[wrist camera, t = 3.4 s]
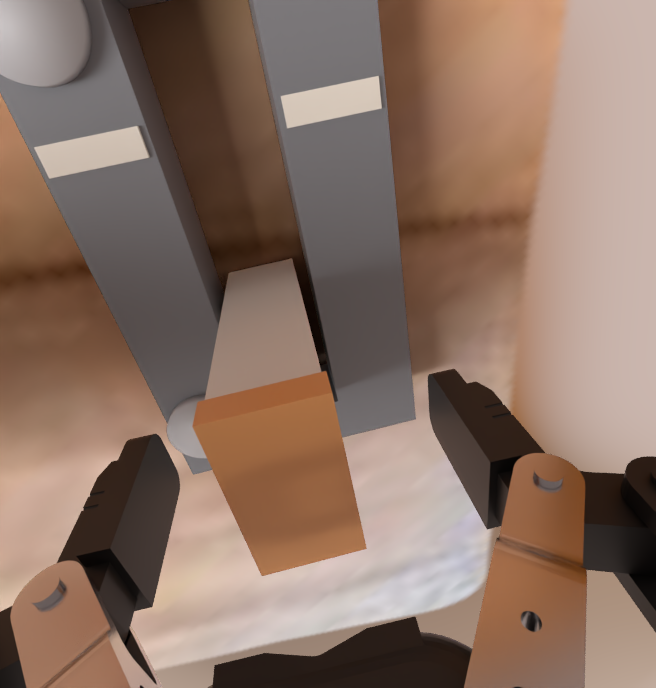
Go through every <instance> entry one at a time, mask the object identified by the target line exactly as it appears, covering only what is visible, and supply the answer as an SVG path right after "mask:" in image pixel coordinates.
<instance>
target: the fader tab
mask: <svg viewBox="0 0 656 688" xmlns="http://www.w3.org/2000/svg"><path fill="white" fill-rule="evenodd" d="M192 427H193V429H194V431H195V433H196V436H197V438H198V440H199V442H200V444H201V446H202V448H203V451H204V453H205V455H206V457H207V459H208V461H209V463H210V466H211V468H212V470H213V472H214V474H215V476H216V479H217V481H218V483H219V485H220V487H221V489H222V491H223V494H224V496H225V498H226V500H227V502H228V504H229V506H230V509H231V511H232V513H233V515H234V517H235V519H236V521H237V524H238V526H239V528H240V530H241V532H242V534H243V536H244V539H245V541H246V543H247V545H248V547H249V549H250V551H251V554H252V556H253V558H254V560H255V562H256V564H257V566H258V569H259V571H260V573H261V575H262V576H264V575H268V574H272V573H276V572H280V571H283V570H287V569H291V568H295V567H299V566H302V565H306V564H310V563H314V562H318V561H321V560H325V559H329V558H333V557H337V556H340V555H344V554H348V553H352V552H356V551H360V550H363V549H367V548H366V544H365V539H364V535H363V530H362V526H361V521H360V517H359V512H358V508H357V503H356V498H355V494H354V489H353V485H352V480H351V476H350V471H349V467H348V462H347V457H346V453H345V448H344V444H343V439H342V435H341V430H340V426H339V421H338V417H337V412H336V407H335V403H334V398H333V394H332V390H331V386H330V383H329V379H328V376H327V372H326V371H323V372H321V368H320V364H319V360H318V356H317V353H316V349H315V345H314V341H313V337H312V333H311V330H310V326H309V322H308V318H307V314H306V310H305V306H304V303H303V299H302V295H301V291H300V287H299V283H298V280H297V276H296V272H295V268H294V264H293V260H292V258H291V259H287V260H283V261H278V262H274V263H269V264H265V265H261V266H256V267H252V268H247V269H243V270H239V271H234V272H230V273H229V274H228V279H227V285H226V290H225V295H224V301H223V306H222V311H221V316H220V322H219V327H218V332H217V337H216V343H215V348H214V353H213V358H212V364H211V369H210V374H209V380H208V385H207V390H206V395H205V400H203V401H199V402H197V407H196V411H195V416H194V421H193V425H192Z"/></svg>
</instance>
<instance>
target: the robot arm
mask: <svg viewBox="0 0 656 688" xmlns="http://www.w3.org/2000/svg"><path fill="white" fill-rule="evenodd" d="M428 393H429V412H430V420H431V424H432V428H433V430H434V433H435V435H436V437H437V439H438V441H439V442H440V444H441V446H442V448H443V450H444V452H445V453H446V455H447V457H448V459H449V461H450V463H451V464H452V466H453V468H454V470H455V472H456V473H457V475H458V477H459V479H460V481H461V483H462V484H463V486H464V488H465V490H466V492H467V494H468V495H469V497H470V499H471V501H472V503H473V505H474V506H475V508H476V510H477V512H478V514H479V515H480V517H481V519H482V521H483V523H484V525H485V526H486V528H487V529H490V528H494V527H498V526H501V530H500V535H499V538H497V539H496V542H495V546H494V550H493V555H492V560H491V564H490V569H489V574H488V578H487V583H486V588H485V593H484V597H483V601H482V607H481V611H480V615H479V621H478V625H477V629H476V634H475V639H474V643H473V648H472V649H471V648H470V647H468V646H466V645H464V644H462V643H460V642H458V641H456V640H453V639H451V638H448V637H445V636H442V635H437V634H432V633H423V632H420V630H419V627H418V624H417V621H416V617H411V618H407V619H403V620H399V621H395V622H391V623H387V624H383V625H379V626H375V627H370V628H366V629H365V630H363V631H362V632H360V633H358V634H356V635H354V636H353V637H351V638H349V639H348V640H346V641H344V642H342V643H341V644H339V645H337V646H335V647H334V648H332V649H330V650H328V651H327V652H325V653H323V654H321V655H319V656H312V657H311V656H298V655H284V654H269V653H263V654H260V655H255V656H251V657H247V658H243V659H239V660H235V661H230V662H226V663H222V664H218V665H215V667H214V668H215V669H214V678H213V685H211V686H209V687H208V688H584V687H585V646H586V643H585V642H586V602H587V599H586V598H587V571H586V570H595V571H605V572H613V573H614V574H615V575H616V577H617V578H618V580H619V581H620V582H621V584H622V585H623V587H624V588H625V590H626V591H627V592H628V594H629V595H630V597H631V598H632V599H633V601H634V602H635V604H636V605H637V607H638V608H639V609H640V611H641V612H642V614H643V615H644V617H645V618H646V619H647V621H648V622H649V624H650V625H651V626H652V628H653V629H654V631H655V632H656V457H640V458H637V459H634V460H632V461H631V462H630V463H629V464H628V465H627V467H626V471H625V474H616V473H592V472H583V471H579V470H578V469H577V468H576V467H575V466H574V465H573V464H571V463H570V462H569V461H567V460H565V459H563V458H561V457H558V456H555V455H552V454H547V453H545V452H544V451H543V450H542V449H541V447H540V446H539V445H538V444H537V443H536V441H535V440H534V439H533V438H532V437H531V436H530V434H529V433H528V432H527V431H526V430H525V429H524V427H523V426H522V425H521V424H520V423H519V421H518V420H517V419H516V418H515V417H514V416H513V415H511V412H510V411H509V410H508V409H507V407H506V406H505V405H503V404H502V402H501V400H500V399H499V398H498V397H497V396H496V395H495V393H494V392H493V391H492V390H490V389H489V388H487V387H485V386H483V385H481V384H480V383H478V382H472V383H468V384H467V383H466V382H465V381H464V380H463V378H462V377H461V376H460V374H459V373H458V372H457V371H456V370H455V369H451V370H446V371H442V372H437V373H433V374H429V376H428ZM179 491H180V481H179V475H178V472H177V470H176V467H175V465H174V463H173V462H172V460H171V458H170V456H169V454H168V452H167V450H166V448H165V446H164V444H163V442H162V440H161V438H160V437H159V435H157V434H152V435H148V436H143V437H139V438H134V439H130V440H128V441H127V442H126V444H125V446H124V448H123V450H122V453H121V455H120V457H119V459H118V460H117V461H113V462H111V463H110V464H109V465H108V467H107V468H106V469H105V470H104V471H103V472H102V473H101V474H100V475H99V477H98V478H97V480H96V482H95V484H94V486H93V488H92V490H91V493H90V497H88V499H87V501H86V503H85V505H84V507H83V508H84V511H81V513H80V516H79V518H78V520H77V522H76V524H75V526H74V528H73V530H72V532H71V534H70V537H69V539H68V541H67V543H66V545H65V547H64V549H63V551H62V553H61V555H60V557H59V560H58V562H57V563H56V564H54V565H52V566H50V567H48V568H46V569H45V570H43V571H42V572H40V573H39V574H38V575H36V576H35V577H34V578H33V579H32V580H31V581H30V582H29V583H28V584H27V585H26V586H25V587H24V588H23V589H22V591H21V592H20V593H19V595H18V596H17V598H16V600H15V602H14V604H13V606H11V607H9V608H7V609H5V610H3V611H1V612H0V688H163V687H162V685H161V683H160V681H159V679H158V677H157V675H156V673H155V671H154V669H153V667H152V665H151V663H150V661H149V659H148V657H147V655H146V653H145V651H144V649H143V648H142V646H141V644H140V642H139V640H138V638H137V636H136V634H135V632H134V630H133V629H132V627H131V626H130V624H131V621H132V617H133V613H134V611H137V610H141V609H145V608H150V607H152V606H153V602H154V598H155V593H156V589H157V585H158V581H159V576H160V572H161V568H162V564H163V559H164V555H165V551H166V547H167V542H168V538H169V534H170V530H171V525H172V521H173V517H174V513H175V508H176V504H177V500H178V496H179Z"/></svg>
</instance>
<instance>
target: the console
mask: <svg viewBox="0 0 656 688" xmlns="http://www.w3.org/2000/svg"><path fill="white" fill-rule="evenodd" d="M166 1H171V0H0V93H1V95H2V97H3V99H4V101H5V103H6V105H7V107H8V109H9V111H10V113H11V115H12V117H13V119H14V121H15V123H16V125H17V127H18V129H19V131H20V133H21V135H22V137H23V139H24V141H25V143H26V145H27V147H28V149H29V151H30V153H31V155H32V157H33V159H34V160H35V162H36V164H37V166H38V168H39V170H40V172H41V174H42V176H43V178H44V180H45V182H46V184H47V186H48V188H49V190H50V192H51V194H52V196H53V198H54V200H55V202H56V204H57V206H58V208H59V210H60V212H61V214H62V216H63V218H64V220H65V222H66V224H67V226H68V228H69V230H70V232H71V234H72V236H73V238H74V240H75V242H76V244H77V246H78V248H79V250H80V252H81V254H82V255H83V257H84V259H85V261H86V263H87V265H88V267H89V269H90V271H91V273H92V275H93V277H94V279H95V281H96V283H97V285H98V287H99V289H100V291H101V293H102V295H103V297H104V299H105V301H106V303H107V305H108V307H109V309H110V311H111V313H112V315H113V317H114V319H115V321H116V323H117V325H118V327H119V329H120V331H121V333H122V335H123V337H124V339H125V341H126V343H127V345H128V347H129V349H130V350H131V352H132V354H133V356H134V358H135V360H136V362H137V364H138V366H139V368H140V370H141V372H142V374H143V376H144V378H145V380H146V382H147V384H148V386H149V388H150V390H151V392H152V394H153V396H154V398H155V400H156V402H157V404H158V406H159V408H160V410H161V412H162V414H163V416H164V418H165V420H166V422H167V424H168V425H167V436H168V439H169V441H170V442H171V444H172V445H173V446H174V447H175V448H176V449H177V450H178V451H180V452H181V453H183V455H184V457H185V459H186V461H187V463H188V465H189V467H190V469H191V471H192V473H193V475H194V474H198V473H202V472H206V471H210V470H212V468H211V466H210V463H209V461H208V459H207V457H206V455H205V453H204V451H203V448H202V446H201V444H200V442H199V440H198V438H197V436H196V433H195V431H194V429H193V427H192V425H193V421H194V416H195V411H196V407H197V402H199V401H203V400H205V395H206V390H207V385H208V380H209V374H210V369H211V364H212V358H213V353H214V348H215V343H216V337H217V332H218V327H219V322H220V316H221V311H222V306H223V301H224V292H223V289H222V286H221V283H220V280H219V277H218V274H217V271H216V268H215V265H214V262H213V259H212V256H211V253H210V250H209V247H208V245H207V242H206V239H205V236H204V233H203V230H202V227H201V224H200V221H199V218H198V215H197V212H196V209H195V206H194V203H193V200H192V197H191V194H190V191H189V188H188V185H187V182H186V179H185V176H184V173H183V171H182V168H181V165H180V162H179V159H178V156H177V153H176V150H175V147H174V144H173V141H172V138H171V135H170V132H169V129H168V126H167V123H166V120H165V117H164V114H163V111H162V108H161V105H160V102H159V100H158V97H157V94H156V91H155V88H154V85H153V82H152V79H151V76H150V73H149V70H148V67H147V64H146V61H145V58H144V55H143V52H142V49H141V46H140V43H139V40H138V37H137V34H136V31H135V29H134V26H133V23H132V20H131V17H130V14H129V11H128V9H129V8H135V7H140V6H145V5H150V4H155V3H160V2H166ZM248 2H249V6H250V11H251V15H252V20H253V25H254V29H255V34H256V38H257V43H258V48H259V52H260V57H261V61H262V66H263V71H264V75H265V80H266V84H267V89H268V94H269V98H270V103H271V107H272V112H273V117H274V121H275V126H276V130H277V135H278V140H279V144H280V149H281V153H282V158H283V162H284V167H285V172H286V176H287V181H288V185H289V190H290V195H291V199H292V204H293V208H294V213H295V218H296V222H297V227H298V231H299V236H300V241H301V245H302V250H303V254H304V259H305V264H306V268H307V273H308V277H309V282H310V287H311V291H312V296H313V300H314V305H315V310H316V314H317V319H318V323H319V328H320V332H321V337H322V342H323V346H324V351H325V355H326V360H327V364H324V365H320V368H321V372H323V371H326V372H327V376H328V379H329V383H330V386H331V390H332V394H333V398H334V403H335V407H336V412H337V417H338V421H339V426H340V430H341V435H342V437H346V436H350V435H354V434H358V433H362V432H366V431H370V430H374V429H378V428H382V427H386V426H390V425H394V424H398V423H402V422H406V421H410V420H414V419H416V416H415V405H414V394H413V383H412V372H411V361H410V350H409V339H408V328H407V317H406V306H405V295H404V284H403V274H402V263H401V252H400V241H399V230H398V219H397V208H396V197H395V186H394V175H393V164H392V153H391V142H390V131H389V120H388V109H387V99H386V88H385V77H384V66H383V55H382V44H381V33H380V22H379V11H378V0H248Z"/></svg>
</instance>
